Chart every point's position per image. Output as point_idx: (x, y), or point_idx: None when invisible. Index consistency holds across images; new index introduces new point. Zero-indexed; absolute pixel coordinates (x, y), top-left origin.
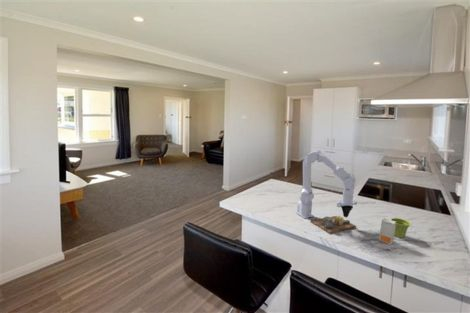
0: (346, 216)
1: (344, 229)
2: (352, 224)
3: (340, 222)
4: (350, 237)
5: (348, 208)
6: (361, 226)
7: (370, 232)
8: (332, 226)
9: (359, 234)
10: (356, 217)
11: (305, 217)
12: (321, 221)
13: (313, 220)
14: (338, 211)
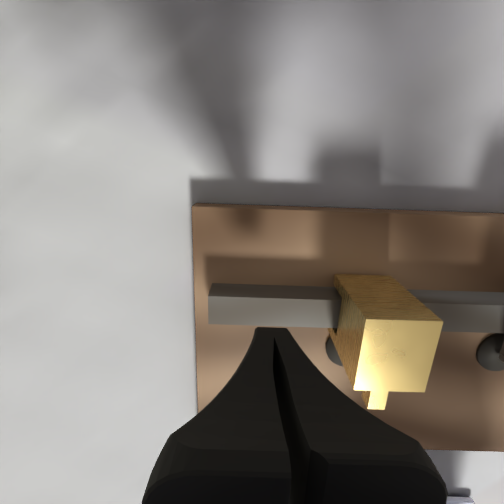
0: (289, 333)
1: (372, 210)
2: (202, 251)
3: (388, 292)
4: (466, 48)
5: (377, 448)
6: (108, 205)
7: (124, 43)
8: (460, 293)
9: (298, 61)
10: (2, 367)
11: (466, 502)
12: (440, 408)
13: (486, 444)
14: (83, 495)
